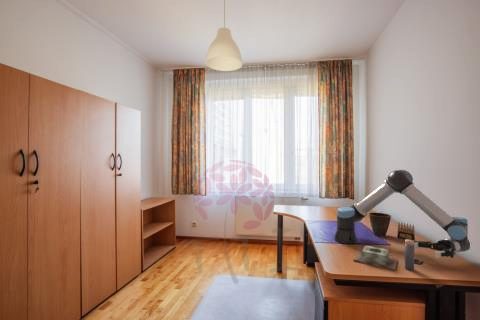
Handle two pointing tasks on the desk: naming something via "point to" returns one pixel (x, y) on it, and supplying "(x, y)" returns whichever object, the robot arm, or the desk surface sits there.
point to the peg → (409, 255)
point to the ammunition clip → (406, 232)
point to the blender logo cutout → (418, 262)
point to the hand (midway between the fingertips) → (421, 250)
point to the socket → (376, 257)
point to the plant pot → (379, 223)
